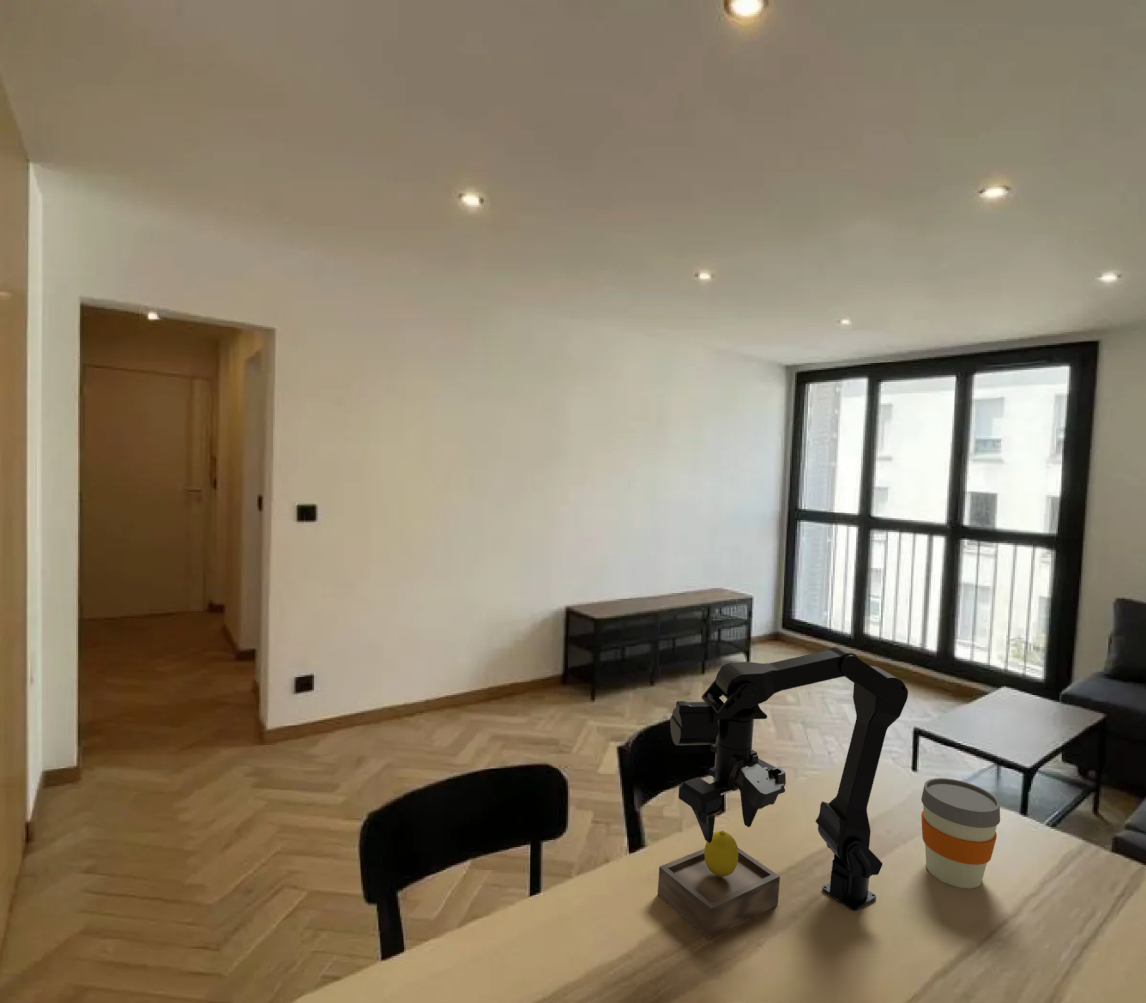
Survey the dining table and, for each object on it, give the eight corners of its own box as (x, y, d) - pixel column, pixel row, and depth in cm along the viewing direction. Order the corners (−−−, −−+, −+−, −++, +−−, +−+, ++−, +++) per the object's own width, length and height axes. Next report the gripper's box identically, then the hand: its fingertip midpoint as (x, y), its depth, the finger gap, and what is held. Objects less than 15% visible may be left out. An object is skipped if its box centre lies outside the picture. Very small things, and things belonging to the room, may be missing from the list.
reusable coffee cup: (979, 904, 116) (987, 820, 115) (903, 868, 125) (911, 790, 124) (1003, 876, 124) (1011, 798, 123) (931, 844, 133) (938, 771, 132)
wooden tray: (724, 866, 123) (726, 839, 123) (777, 904, 113) (779, 876, 113) (657, 894, 114) (659, 866, 114) (708, 939, 104) (710, 908, 104)
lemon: (737, 890, 110) (740, 843, 110) (702, 884, 111) (705, 837, 111) (736, 869, 116) (739, 825, 115) (703, 864, 117) (706, 819, 116)
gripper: (730, 777, 99) (724, 878, 101) (811, 750, 110) (804, 842, 111) (678, 747, 109) (673, 840, 110) (758, 725, 119) (752, 810, 120)
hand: (728, 833), depth 113 cm, fingers open, 9 cm apart
